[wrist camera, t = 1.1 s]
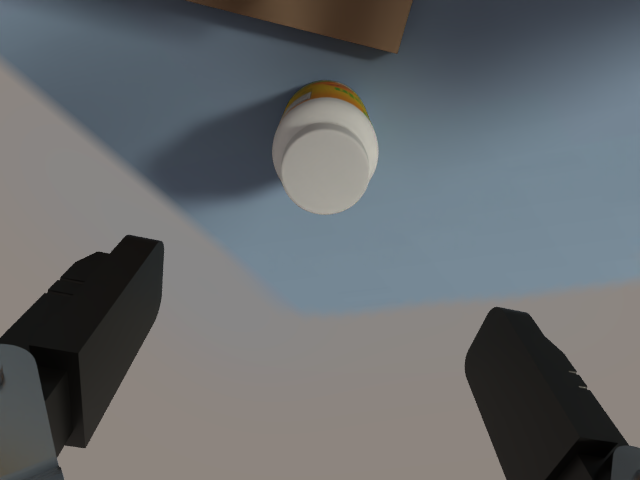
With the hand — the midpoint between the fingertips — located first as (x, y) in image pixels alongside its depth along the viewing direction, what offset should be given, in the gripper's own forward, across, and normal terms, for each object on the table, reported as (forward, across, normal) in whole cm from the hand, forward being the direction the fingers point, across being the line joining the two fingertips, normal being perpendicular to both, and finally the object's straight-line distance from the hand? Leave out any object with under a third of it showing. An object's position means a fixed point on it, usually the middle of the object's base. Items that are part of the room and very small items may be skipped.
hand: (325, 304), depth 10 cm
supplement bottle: (+19, 0, 0) cm, 19 cm away
